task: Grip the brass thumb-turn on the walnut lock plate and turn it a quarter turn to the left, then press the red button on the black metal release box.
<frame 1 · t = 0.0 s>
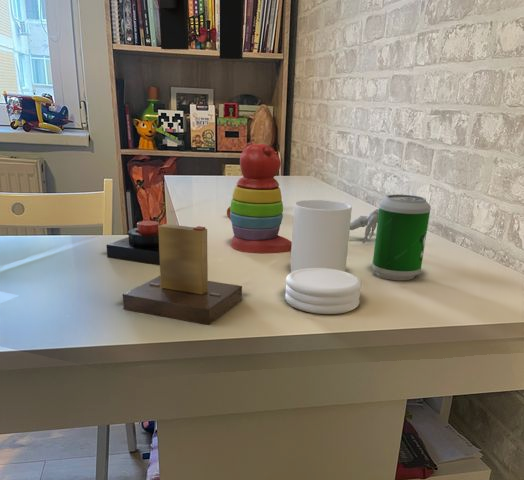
hand: (205, 55, 61), 29 cm above the table, tool pointing down, fingers open, 13 cm apart
kendama: (247, 213, 131), on the table
release box: (149, 254, 94), on the table
lock turn: (183, 258, 70), point 6 cm above the table, hinge at 0.0°
mug: (315, 272, 89), on the table
release button: (148, 228, 92), point 4 cm above the table, slide at 0.1 cm
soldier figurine: (356, 240, 110), on the table
soda can: (395, 276, 88), on the table
stacking bear: (257, 247, 102), on the table
coaster: (321, 303, 75), on the table
lock plate: (184, 304, 73), on the table
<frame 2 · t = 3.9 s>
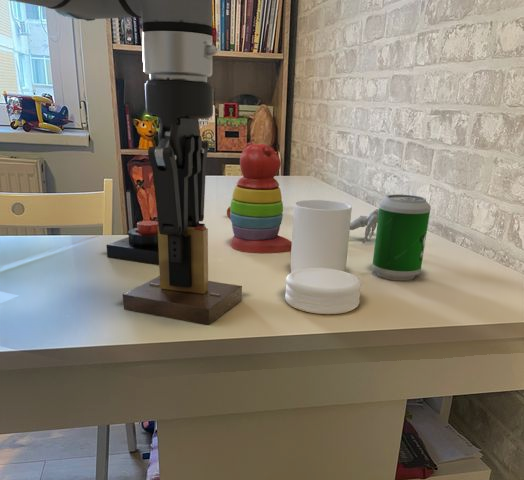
hand: (183, 282, 71), 3 cm above the table, tool pointing down, fingers closed on lock turn, 2 cm apart
lock turn: (183, 258, 70), point 6 cm above the table, hinge at 7.5°, touching gripper
everything else where it was.
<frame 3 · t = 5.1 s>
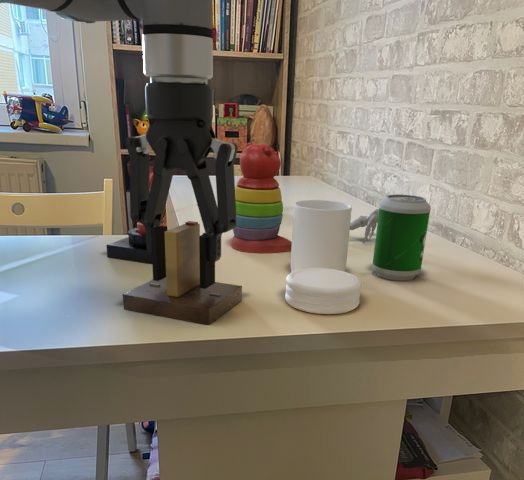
hand: (184, 281, 71), 3 cm above the table, tool pointing down, fingers open, 6 cm apart
lock turn: (183, 258, 70), point 6 cm above the table, hinge at 89.5°
everything else where it was.
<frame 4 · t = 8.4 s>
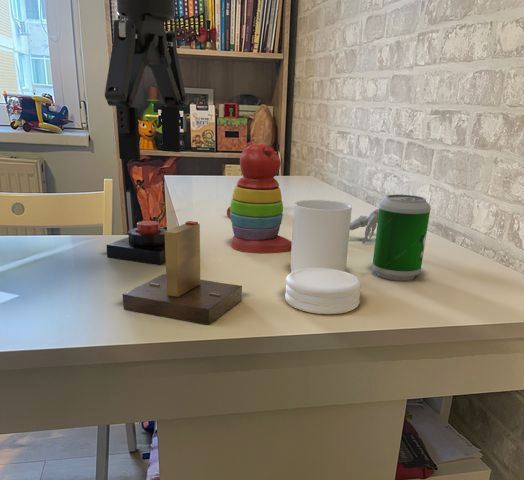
hand: (152, 155, 82), 17 cm above the table, tool pointing down, fingers open, 13 cm apart
nothing on the table moved.
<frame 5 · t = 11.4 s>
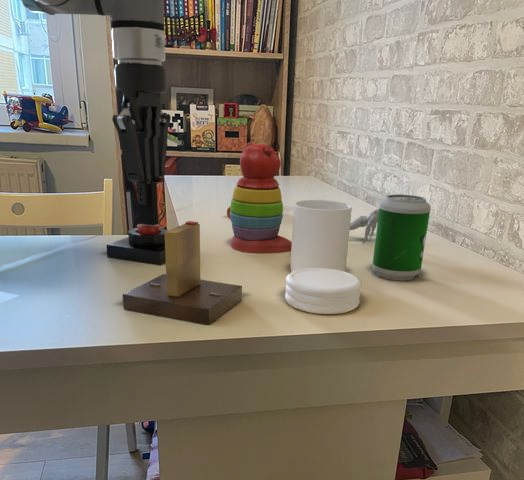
hand: (149, 223, 92), 5 cm above the table, tool pointing down, fingers closed
release button: (148, 230, 93), point 4 cm above the table, slide at -0.3 cm, touching gripper
everything else where it was.
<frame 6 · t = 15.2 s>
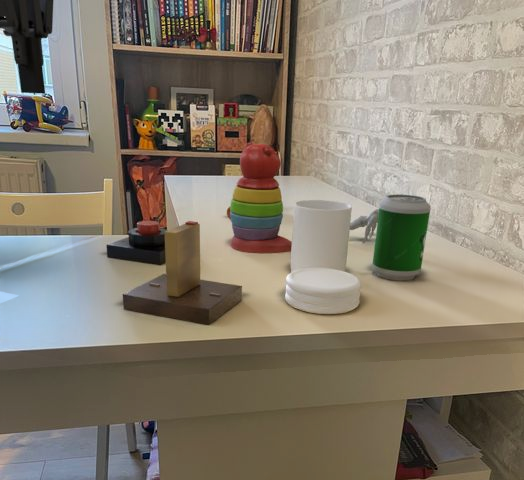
hand: (33, 92, 75), 24 cm above the table, tool pointing down, fingers closed
release button: (148, 228, 92), point 4 cm above the table, slide at 0.1 cm
everything else where it was.
at the end: lock turn at +90° (first picture: +0°); release button pushed in 1.0 cm at the most during the clip, back to where it started at the end; release button slide at 0.1 cm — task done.
